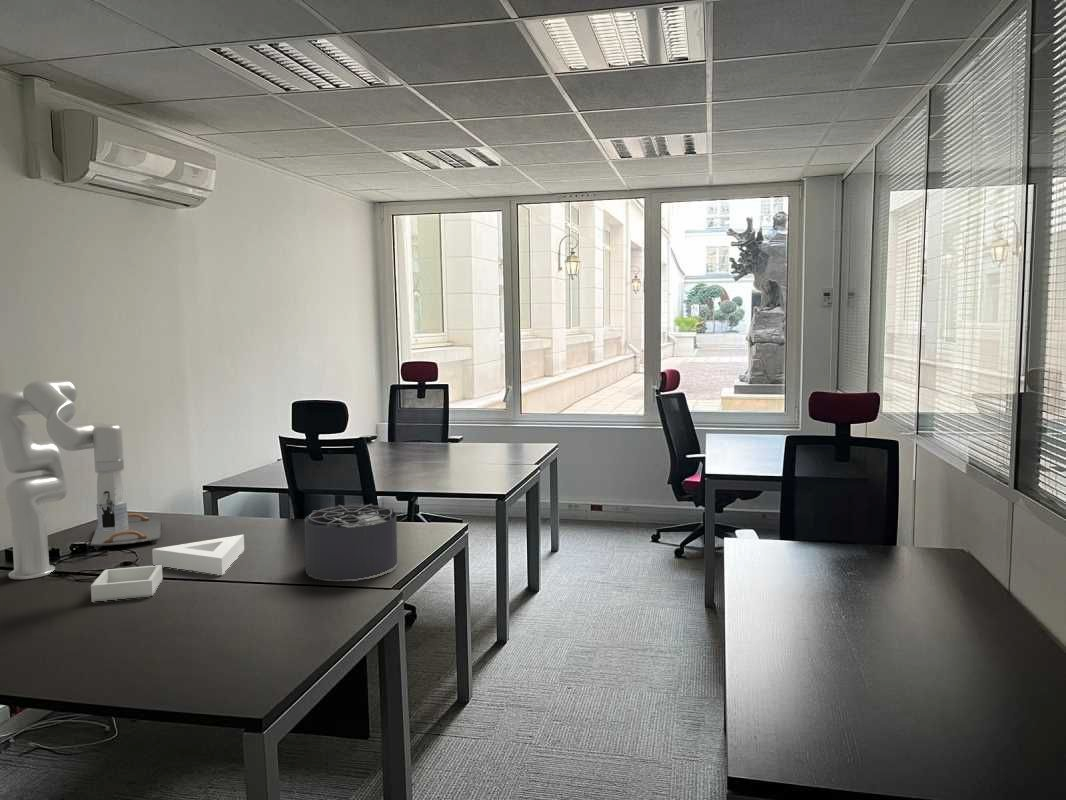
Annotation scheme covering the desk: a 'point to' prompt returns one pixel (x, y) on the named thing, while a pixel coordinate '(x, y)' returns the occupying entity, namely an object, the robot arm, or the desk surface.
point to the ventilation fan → (350, 542)
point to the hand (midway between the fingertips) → (113, 523)
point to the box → (126, 583)
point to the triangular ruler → (201, 555)
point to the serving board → (130, 533)
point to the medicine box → (120, 518)
